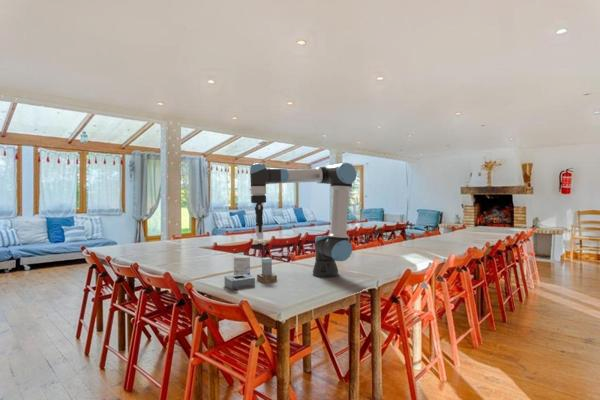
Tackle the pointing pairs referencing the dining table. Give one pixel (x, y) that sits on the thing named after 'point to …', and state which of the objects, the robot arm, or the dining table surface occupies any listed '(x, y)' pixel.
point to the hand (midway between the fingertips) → (259, 237)
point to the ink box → (241, 265)
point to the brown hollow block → (266, 278)
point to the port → (239, 281)
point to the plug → (266, 266)
